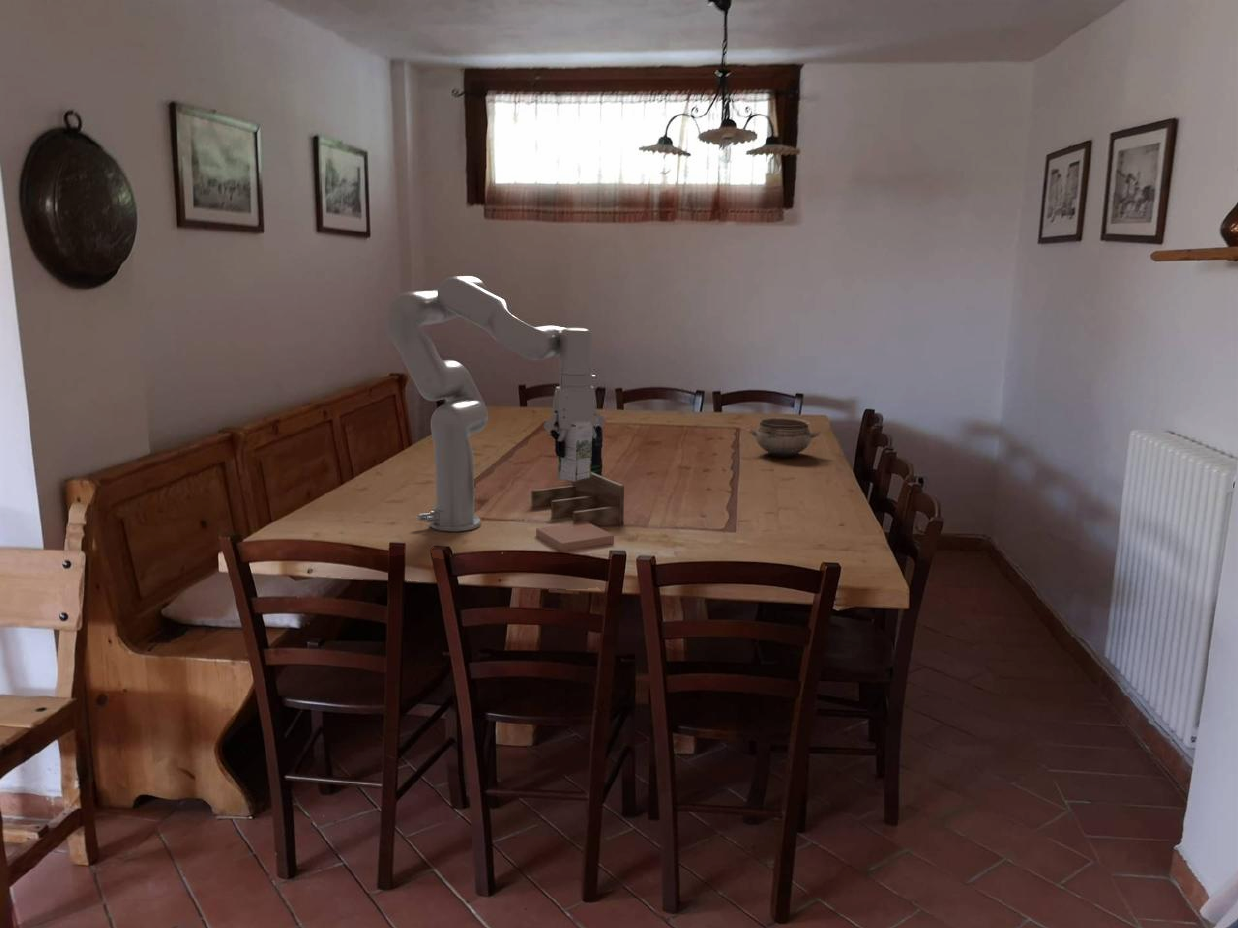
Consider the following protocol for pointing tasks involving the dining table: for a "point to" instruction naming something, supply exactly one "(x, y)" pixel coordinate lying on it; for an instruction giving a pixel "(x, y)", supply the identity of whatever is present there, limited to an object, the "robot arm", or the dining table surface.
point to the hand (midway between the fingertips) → (575, 454)
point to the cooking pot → (783, 435)
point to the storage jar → (597, 455)
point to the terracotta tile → (574, 536)
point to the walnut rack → (585, 501)
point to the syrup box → (577, 452)
